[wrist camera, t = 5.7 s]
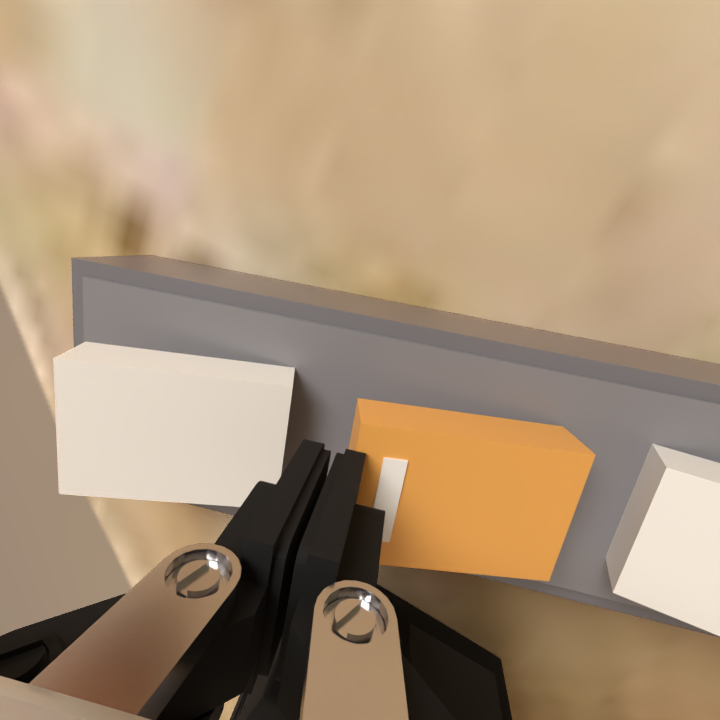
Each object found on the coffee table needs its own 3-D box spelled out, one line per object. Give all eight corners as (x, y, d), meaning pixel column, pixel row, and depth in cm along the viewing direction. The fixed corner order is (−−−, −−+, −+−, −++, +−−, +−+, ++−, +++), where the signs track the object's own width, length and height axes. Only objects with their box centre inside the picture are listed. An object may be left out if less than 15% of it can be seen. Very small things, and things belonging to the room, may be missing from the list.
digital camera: (519, 643, 20) (569, 849, 13) (453, 709, 21) (467, 923, 14) (328, 528, 19) (279, 675, 13) (277, 603, 21) (209, 769, 14)
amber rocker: (562, 426, 12) (597, 456, 10) (524, 540, 13) (549, 583, 12) (357, 398, 11) (361, 425, 10) (335, 520, 13) (335, 562, 11)
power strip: (1028, 423, 14) (1276, 497, 10) (901, 608, 16) (1061, 730, 12) (150, 255, 17) (64, 257, 13) (145, 430, 19) (71, 480, 15)
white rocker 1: (295, 367, 13) (292, 386, 11) (280, 479, 14) (276, 509, 13) (85, 341, 12) (53, 358, 11) (87, 463, 13) (58, 493, 12)
